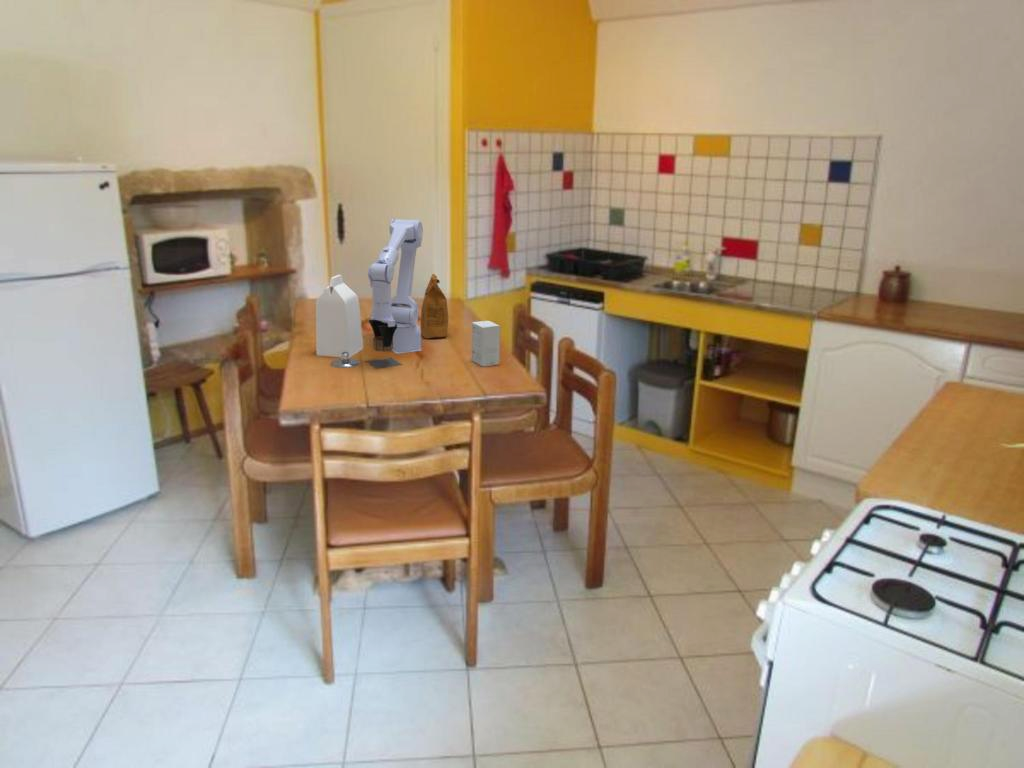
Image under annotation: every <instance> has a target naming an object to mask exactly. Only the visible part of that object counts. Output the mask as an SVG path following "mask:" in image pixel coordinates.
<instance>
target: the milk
mask: <svg viewBox="0 0 1024 768" xmlns="http://www.w3.org/2000/svg"><path fill="white" fill-rule="evenodd" d="M360 309H361V308H360V300H359V297H358V295H357V293H355V291H354V290H352V289H351V288H350V287H349V286H348V285H347V284H346V283H345V282H344V278H343V275H342V274H337V275H334V276H332V277H330V280H329V285H328V286H326V288H324V290H323V292H322V294H321V295H320V296H318V297H317V299H316V300H315V329H316V330H315V336H316V337H315V339H316V342H315V343H316V347H315V348H316V351H315V352H316V356H319V357H321V356H323V357H333V358H335V357H336V358H341V353H342V352H348V353H349V359H351V357H353V356H354V355H356V354H357V353H359V352H360V351H362V350H363V349H364V343H363V341H364V339H363V330H362V320H361V310H360Z"/></svg>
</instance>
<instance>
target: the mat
mask: <svg viewBox="0 0 1024 768" xmlns="http://www.w3.org/2000/svg"><path fill="white" fill-rule="evenodd" d="M365 362H366V363H367V364H368V365H370V366H372V367H373V368H374V369H377V370H378V369H382V368H383V369H384V368H390V367H391V368H392V367H396V366H398V367H399V366H403V363H401V362H399V361H397V360H396V359H395V358H393V357H387V358H380V359H373V360H367V361H365Z"/></svg>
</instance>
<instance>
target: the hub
mask: <svg viewBox="0 0 1024 768" xmlns="http://www.w3.org/2000/svg"><path fill="white" fill-rule="evenodd" d="M360 364H361V361H360V360H359V359H356V358H349V353H348V352H342V353H341V357H340V358H338V359H334V360H332V361H331V362H330V365H331V366H332V367H333V368H338V369H351V368H355V367H357V366H360Z"/></svg>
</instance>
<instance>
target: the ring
mask: <svg viewBox="0 0 1024 768" xmlns="http://www.w3.org/2000/svg"><path fill="white" fill-rule="evenodd" d="M372 339H373V340H372V342H373V351H376V352H382V353H383V352H391V350H392V349H393V339H392V344H391V346H389V347H384V344H383V339H382V336H378V337H375V336H374V337H373V338H372Z"/></svg>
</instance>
